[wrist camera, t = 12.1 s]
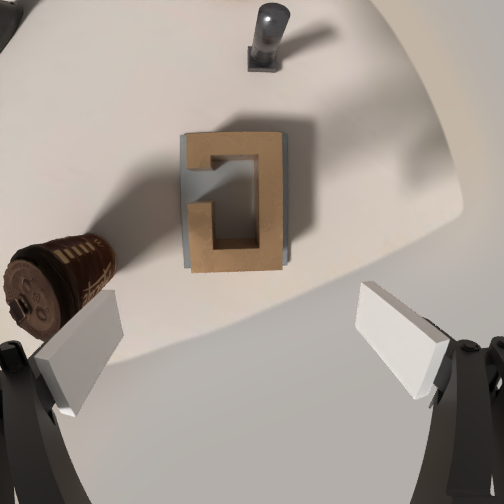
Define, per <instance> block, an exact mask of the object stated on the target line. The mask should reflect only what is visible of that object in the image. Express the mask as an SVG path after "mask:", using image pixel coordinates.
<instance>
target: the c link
mask: <svg viewBox="0 0 504 504" xmlns="http://www.w3.org/2000/svg"><path fill="white" fill-rule="evenodd" d="M245 160H254V222H255V238H236V239H216V226H215V200H210V201H194V202H191V203H189V204H188V227H189V244H190V259H191V273H207V272H239V271H266V270H282V261H283V167H282V132H211V133H193V134H186V162H187V169H189V170H191V171H193V172H203V171H214V161H245Z"/></svg>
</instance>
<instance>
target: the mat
mask: <svg viewBox="0 0 504 504" xmlns="http://www.w3.org/2000/svg"><path fill="white" fill-rule="evenodd" d="M282 167H283V261H282V266H283V265H287V249H288V142H287V134H282ZM180 194H181V221H182V240H183V255H184V268H191V259H190V244H189V227H188V204H189V203H191V202H194V201H210V200H215V226H216V239H236V238H255V222H254V160H245V161H214V171H203V172H193V171H191V170H189V169H187V162H186V135H180Z"/></svg>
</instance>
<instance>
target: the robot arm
mask: <svg viewBox="0 0 504 504" xmlns="http://www.w3.org/2000/svg"><path fill="white" fill-rule="evenodd" d="M22 12H23V9H22V7H21V6H20V5H19V4H17V3H16V2H8V1H3V0H0V52H1V51H2V49H3V48H4V47H5V45H6V44H7V42H8V41H9V39H10V38H11V36H12V35H13V33H14V31H15V29H16V28H17V26H18V24H19V22H20V19H21V16H22ZM355 327H356V329H357V330H358V331H359V332H360V333H361V334H362V336H363V337H364V338H365V339H366V341H367V342H368V343H369V344H370V345H371V346H372V348H373V349H374V350H375V351H376V353H377V354H378V355H379V356H380V357H381V358H382V360H383V361H384V362H385V363H386V365H387V366H388V367H389V368H390V370H391V371H392V372H393V373H394V374H395V376H396V377H397V378H398V380H399V381H400V382H401V383H402V384H403V386H404V387H405V388H406V389H407V391H408V392H409V393H410V394H411V396H412V397H413V398H414V400H416V399H418V398H421V397H424V396H426V395H428V394H429V392H430V390H431V388H432V385H433V383H434V384H435V385H436V387H438V389H437V391H436V393H435V395H434V397H433V399H432V401H431V403H430V406H429V408H431V406H432V405H433V404H434V406H433V413H432V419H431V425H430V431H429V436H428V441H427V446H426V450H425V455H424V459H423V463H422V467H421V470H420V474H419V477H418V480H417V484H416V487H415V490H414V493H413V496H412V499H411V502H410V504H504V337H503V336H501V337H499V336H497V337H494V338H492V340H491V343H490V346H489V348H481V347H480V346H479V345H478V344H477V343H475V342H473V341H470V340H459V341H456V340H454V339H453V338H452V337H450V336H449V335H448V334H447V333H445V332H444V331H443V330H440V328H439V327H438V326H435V324H433V323H432V322H431V321H430V320H428V319H426V318H424V317H421V316H420V315H418V314H417V313H416V312H414V311H413V310H412V309H410V308H409V307H408V306H406V305H405V304H404V303H402V302H401V301H400V300H398V299H397V298H396V297H394V296H393V295H392V294H390V293H389V292H387V291H386V290H385V289H383V288H382V287H381V286H379V285H378V284H376V283H375V282H374V281H368V282H361V288H360V295H359V303H358V310H357V316H356V323H355ZM123 336H124V334H123V330H122V326H121V321H120V317H119V312H118V307H117V302H116V297H115V291H114V290H102V291H100V292H99V293H98V294H97V295H96V296H95V297H94V298H93V299H92V300H91V301H90V302H88V303H87V304H86V305H85V306H84V307H83V308H82V309H81V310H80V311H79V312H78V313H77V314H76V315H75V316H74V317H73V318H72V319H71V320H70V321H69V322H67V323H66V324H65V325H64V326H63V327H62V328H61V329H60V330H59V331H57V332H56V333H54V334H52V335H51V336H50V337H49V338H48V339H47V340H46V342H44V343H43V344H42V345H41V347H39V348H38V349H37V350H36V351H35V352H34V353H33V354H32V355H31V356H30V357H29V358H28V359H27V357H26V355H25V353H24V350H23V348H22V345H21V343H20V342H19V341H14V340H12V341H7V342H4V343H2V344H1V345H0V366H1V369H2V370H0V504H15V497H14V487H15V491H16V495H17V498H18V502H19V504H92V503H91V502H90V500H89V498H88V496H87V494H86V492H85V490H84V488H83V486H82V484H81V482H80V480H79V478H78V476H77V473H76V471H75V469H74V466H73V464H72V462H71V459H70V457H69V454H68V452H67V449H66V446H65V444H64V441H63V438H62V435H61V432H60V429H59V426H58V423H57V419H56V416H55V414H54V412H53V410H52V407H53V405H54V404H55V403H56V405H57V406H58V408H59V410H60V412H61V413H62V414H66V415H70V416H73V417H76V416H77V414H78V413H79V411H80V409H81V407H82V405H83V403H84V402H85V400H86V398H87V396H88V394H89V393H90V391H91V389H92V387H93V386H94V384H95V382H96V380H97V379H98V377H99V375H100V374H101V372H102V370H103V369H104V367H105V365H106V364H107V362H108V360H109V359H110V357H111V355H112V354H113V352H114V350H115V349H116V347H117V346H118V344H119V342H120V341H121V339H122V338H123ZM500 378H502V385H501V387H500V389H498V388H497V384H498V382H499V380H500ZM491 477H493V484H494V492H495V496H492V495H491V494H490V488H491Z"/></svg>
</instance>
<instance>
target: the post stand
mask: <svg viewBox="0 0 504 504" xmlns="http://www.w3.org/2000/svg"><path fill="white" fill-rule="evenodd" d="M289 18H290V12H289V10H288V9H287V8H286V7H285V6H283V5H281V4H278V3H266V4H264V5H262V6H261V7H260V8H259V12H258V17H257V22H256V28H255V33H254V39H253V45H252V46H248V50H247V53H248V72H272V73H275V72H276V52H277V49H278V47H279V44H280V41H281V39H282V36H283V33H284V31H285V28H286V25H287V23H288V20H289Z"/></svg>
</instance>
